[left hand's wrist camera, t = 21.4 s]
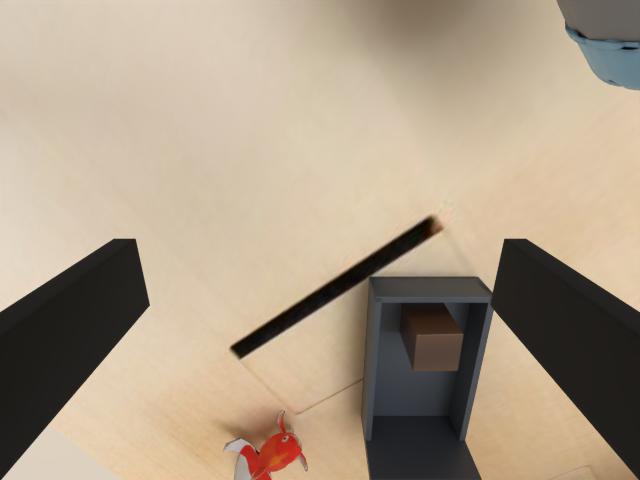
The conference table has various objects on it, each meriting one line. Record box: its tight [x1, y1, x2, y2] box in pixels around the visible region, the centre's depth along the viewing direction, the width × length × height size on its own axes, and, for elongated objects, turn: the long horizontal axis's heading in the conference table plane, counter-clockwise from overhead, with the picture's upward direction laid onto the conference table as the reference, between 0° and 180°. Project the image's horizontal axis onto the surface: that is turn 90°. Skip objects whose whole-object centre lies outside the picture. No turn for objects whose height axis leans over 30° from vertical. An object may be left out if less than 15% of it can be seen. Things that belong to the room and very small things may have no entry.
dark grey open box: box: [361, 277, 494, 480], centre depth 42 cm, size 24×14×10 cm, turn 0°
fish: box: [223, 411, 308, 480], centre depth 49 cm, size 11×16×10 cm
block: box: [400, 303, 463, 372], centre depth 40 cm, size 5×5×7 cm
